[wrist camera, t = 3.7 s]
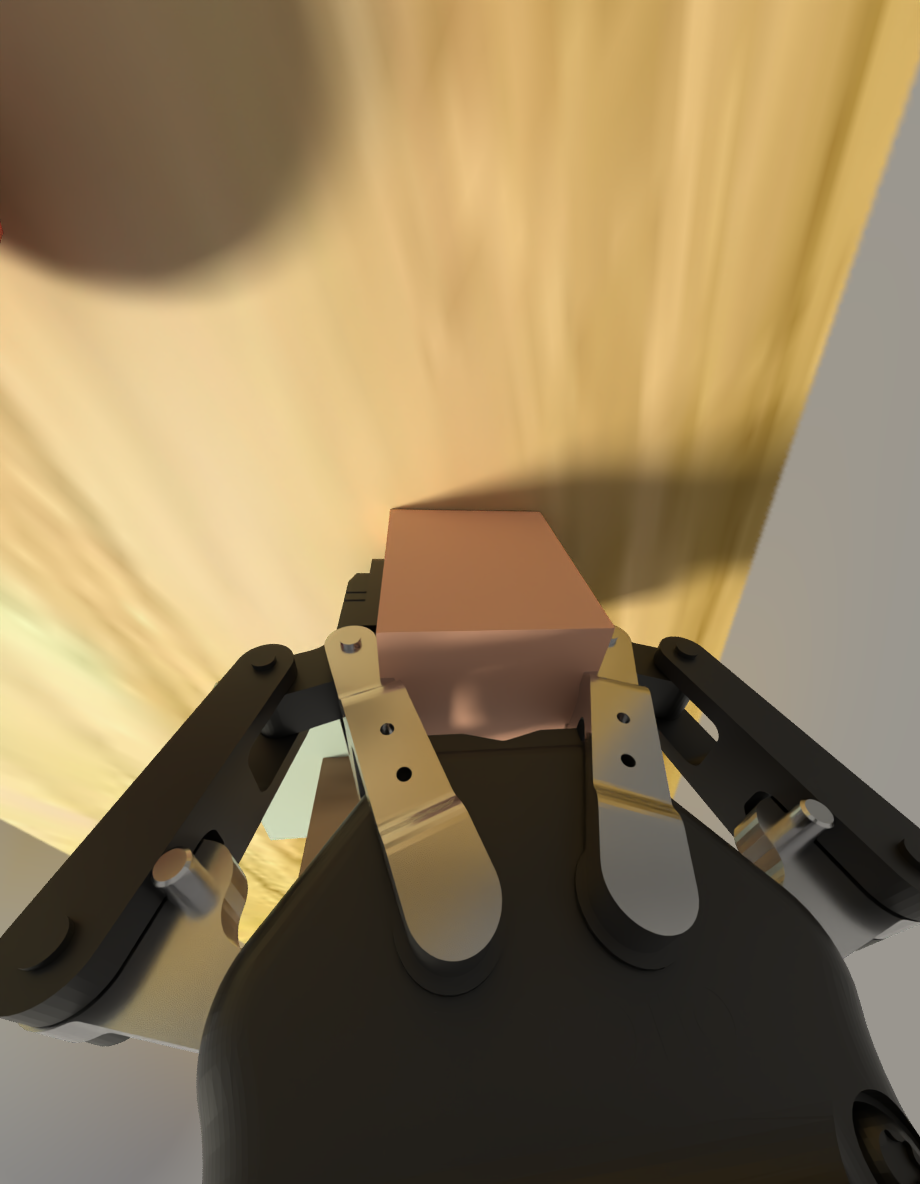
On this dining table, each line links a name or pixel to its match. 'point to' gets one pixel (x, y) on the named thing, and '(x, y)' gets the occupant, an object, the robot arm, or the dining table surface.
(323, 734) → the sage board
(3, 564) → the dining table surface
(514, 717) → the terracotta block
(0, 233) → the red oval piece
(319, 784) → the walnut block
